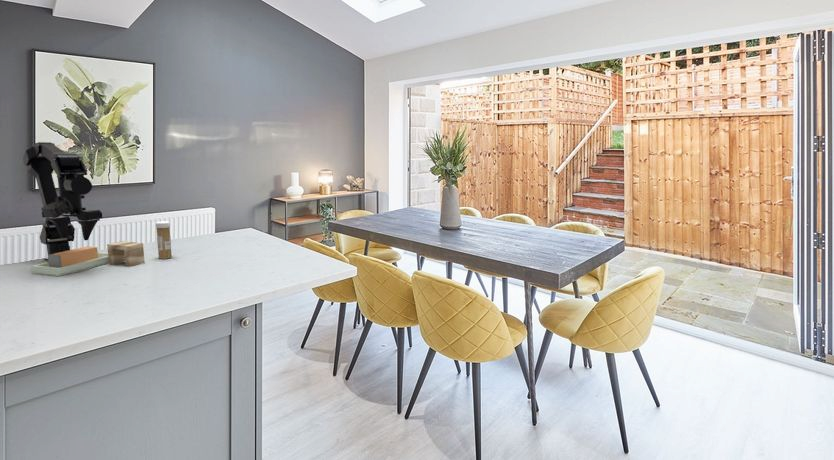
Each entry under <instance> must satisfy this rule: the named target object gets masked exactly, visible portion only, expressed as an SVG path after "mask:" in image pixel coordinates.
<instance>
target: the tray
mask: <svg viewBox="0 0 834 460" xmlns="http://www.w3.org/2000/svg"><path fill="white" fill-rule="evenodd" d="M107 264H108V265H109V260H108V252H98V258H97V259H93V260H89V261H85V262H81V263H77V264H73V265H69V266H65V267H61V268H55V267H49V262H48V261H45V262H42V263H38V264H33V265H30V271H31V274H33V275H34V274H35V275H42V276H43V275H45V276H52V277H62V276H66V275H70V274H73V273H78V272H81V271H86V270H89V269H92V268H97V267H100V266H103V265H107Z"/></svg>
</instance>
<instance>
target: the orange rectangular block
mask: <svg viewBox="0 0 834 460" xmlns="http://www.w3.org/2000/svg"><path fill="white" fill-rule="evenodd" d="M47 258H48V260H47V262H49V267H55V268H61V267H65V266H69V265H73V264H77V263H81V262H85V261H89V260H93V259H97V258H98V247H97V246H84V247H78V248H74V249H70V250H69V251H64V252H59V253H55V254H50V255H48V254H47Z"/></svg>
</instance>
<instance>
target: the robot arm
mask: <svg viewBox="0 0 834 460" xmlns="http://www.w3.org/2000/svg"><path fill="white" fill-rule="evenodd" d="M22 161H23V165H24V166H26V169H27V171H28V173H29V174H30V175H32V176H33V177H34V178H35V180H36V183H37V188H38V192H39V196H40V199H41V203H42V207H41V208H40V209H41V217H42V218H44V220H43V223H42V228H41V232H40V234H39V235H40V236H39V241H40V243H41V244H43V245H46V252H47V256H48V255H50V254H55V253H59V252H64V251H69V250H71V247H70V242H75V233H76V232H75V231H76V228H75V227H74V225H73V224H72V222H71V218H70V217H73V218H74V217H75V218H76V219H78V220H77V221H76V222H77V223H78V224H79V225H80V226H81V227H80V228H81V232H82V237H83V240H84V241H88V240H89V238H90V236H91V235H92V231H93V230H94V228H95V226H96V224H97V223H98V222H99V221H101V220H100V219H103V212H102V211H101V210H100V209H92V208H91V209H86V207H84V206H83V202H82V199H86V198H85V197H86V196H85V195H88V194H90V192H91V191H92V189H93V184H92V182H91V181H90V179H89V178H88V177H85V176H87V175H88V168H87V167H86V165H85V163H84V161H83V159H82V157H80V155H78V154H77V153H73V152H65V151H64V150H62V149H61V148H59V147H58V146H56V145H55V143H54V142H53V143H52V142H47V141H45V142H44V141H42V142H41V141H38V142H35V143H34V146H31V147H30V148H28V149H25V152H24V154H23V157H22ZM53 173H55V175H56V178H57V184H58V185H57V186H58V193H57V189H56V186H55V181H54V178H53V175H52V174H53ZM58 194H59V195H58ZM43 261H48V259H44V258H43Z"/></svg>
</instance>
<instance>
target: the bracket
mask: <svg viewBox="0 0 834 460" xmlns="http://www.w3.org/2000/svg"><path fill="white" fill-rule="evenodd" d="M106 245H107V246H106V247H107V253H108V260H109V263H108V265H114V266H115V265H117V264H121V263H125V266H126V267H134V266H136V265H140V264H143V263H145V251H144V242H137V241H125V240H121V241H117V242H112V243H111V242H110V243H107V244H106Z"/></svg>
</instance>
